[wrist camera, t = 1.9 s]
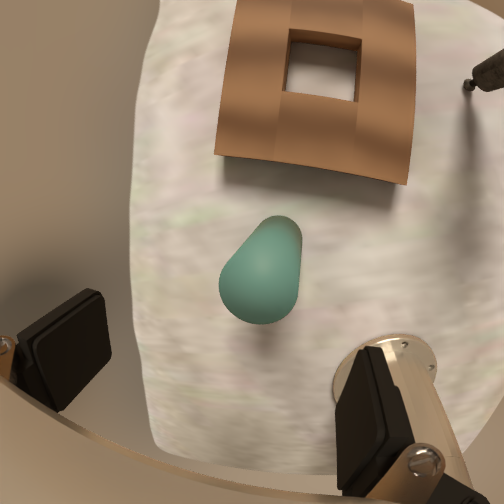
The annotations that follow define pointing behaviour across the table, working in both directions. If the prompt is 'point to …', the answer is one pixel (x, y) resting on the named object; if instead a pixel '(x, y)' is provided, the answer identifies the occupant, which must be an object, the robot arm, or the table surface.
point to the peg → (264, 273)
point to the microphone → (488, 74)
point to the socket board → (318, 107)
